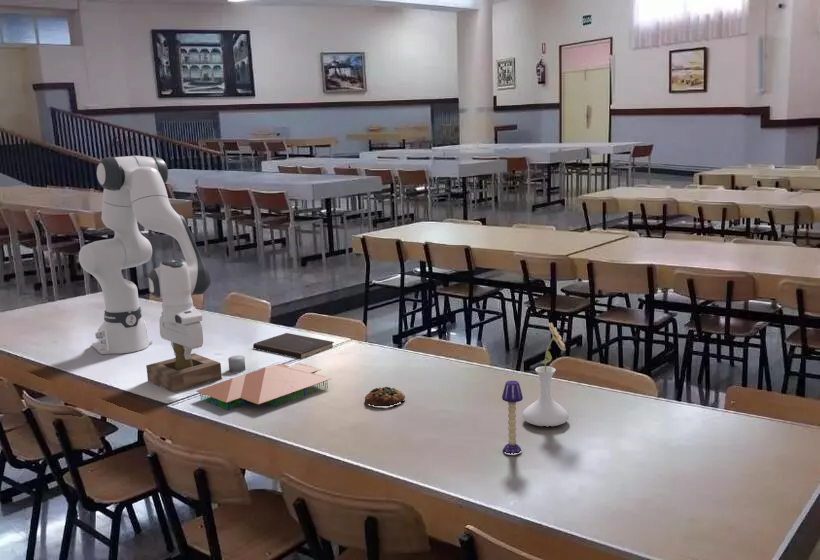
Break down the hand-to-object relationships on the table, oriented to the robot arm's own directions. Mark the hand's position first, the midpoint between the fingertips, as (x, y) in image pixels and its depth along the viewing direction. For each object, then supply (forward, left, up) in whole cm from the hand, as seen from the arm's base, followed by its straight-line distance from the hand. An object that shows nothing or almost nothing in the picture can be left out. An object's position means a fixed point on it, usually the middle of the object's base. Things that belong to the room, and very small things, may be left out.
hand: (182, 357), depth 236 cm
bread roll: (+60, +27, -8) cm, 67 cm away
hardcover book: (-2, +42, -8) cm, 43 cm away
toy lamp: (+107, +24, -7) cm, 110 cm away
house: (+30, +10, -8) cm, 32 cm away
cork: (0, 0, -6) cm, 6 cm away
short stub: (+4, +16, -7) cm, 18 cm away
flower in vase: (+102, +44, -7) cm, 111 cm away
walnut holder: (0, 0, -7) cm, 7 cm away
